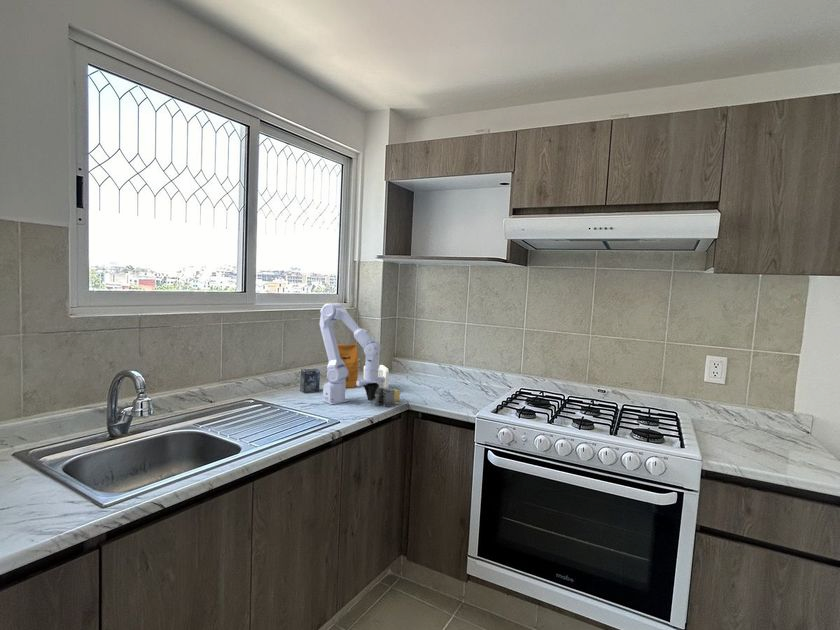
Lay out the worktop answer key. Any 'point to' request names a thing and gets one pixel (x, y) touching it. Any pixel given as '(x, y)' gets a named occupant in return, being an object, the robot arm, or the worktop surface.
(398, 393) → the plug
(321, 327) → the robot arm
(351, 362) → the coffee package
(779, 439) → the worktop surface
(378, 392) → the housing
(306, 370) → the box
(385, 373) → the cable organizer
